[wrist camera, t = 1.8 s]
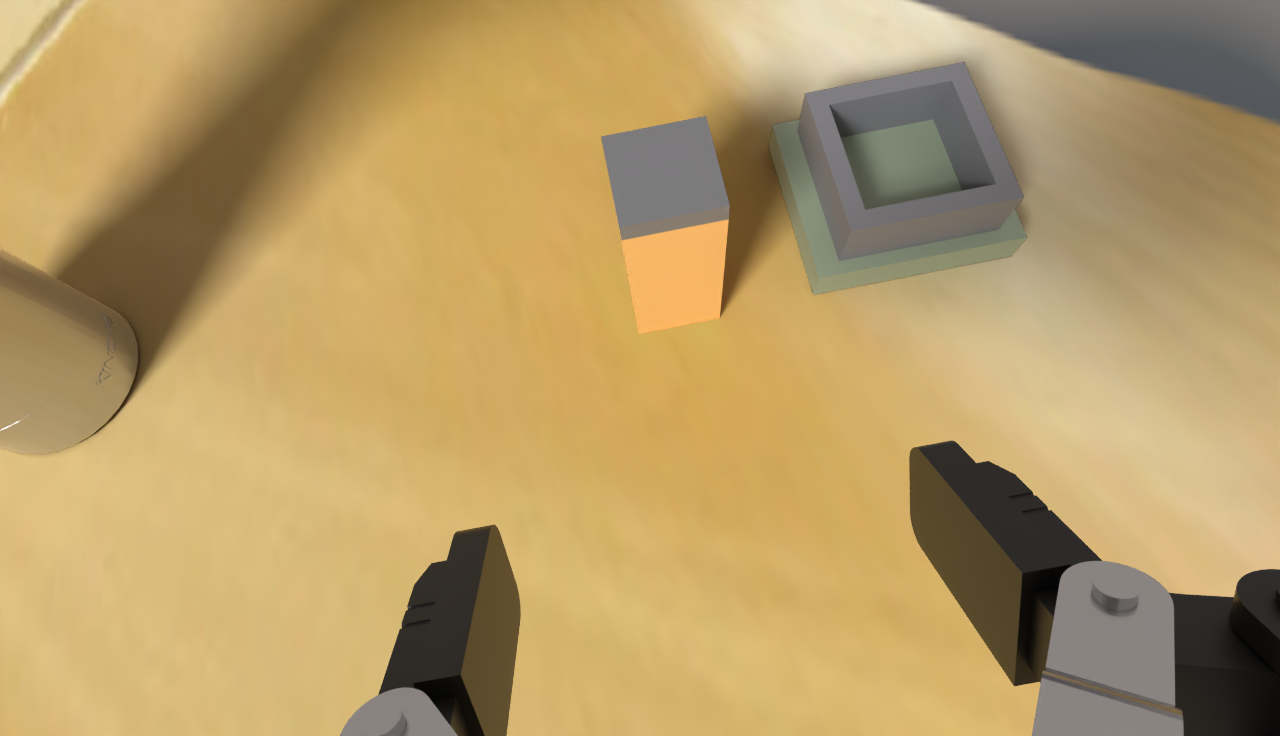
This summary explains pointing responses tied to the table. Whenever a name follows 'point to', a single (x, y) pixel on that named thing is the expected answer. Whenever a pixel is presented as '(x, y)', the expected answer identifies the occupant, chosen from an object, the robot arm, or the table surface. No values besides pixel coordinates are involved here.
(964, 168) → the grey square tray
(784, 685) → the table surface
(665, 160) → the grey-capped square pillar
